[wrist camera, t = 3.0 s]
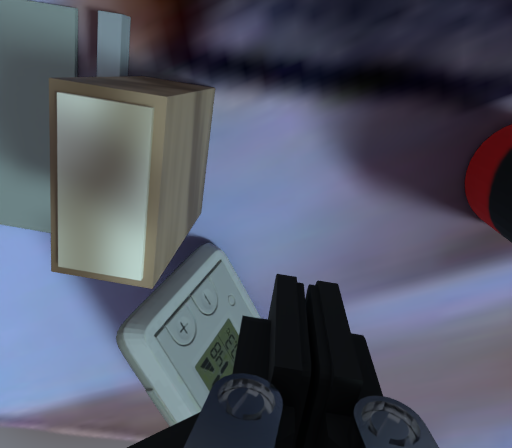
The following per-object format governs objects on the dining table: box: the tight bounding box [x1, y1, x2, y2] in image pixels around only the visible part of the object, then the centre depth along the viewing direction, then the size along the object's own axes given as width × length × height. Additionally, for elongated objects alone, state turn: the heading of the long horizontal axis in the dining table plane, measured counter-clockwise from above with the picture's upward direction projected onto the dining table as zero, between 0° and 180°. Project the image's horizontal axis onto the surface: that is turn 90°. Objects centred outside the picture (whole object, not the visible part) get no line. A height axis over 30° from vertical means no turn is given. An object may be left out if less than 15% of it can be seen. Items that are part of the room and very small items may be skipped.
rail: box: [97, 11, 131, 77], centre depth 30 cm, size 2×16×2 cm, turn 171°
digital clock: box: [116, 243, 260, 426], centre depth 30 cm, size 16×9×11 cm, turn 15°
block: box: [49, 76, 215, 289], centre depth 25 cm, size 5×9×12 cm, turn 171°
